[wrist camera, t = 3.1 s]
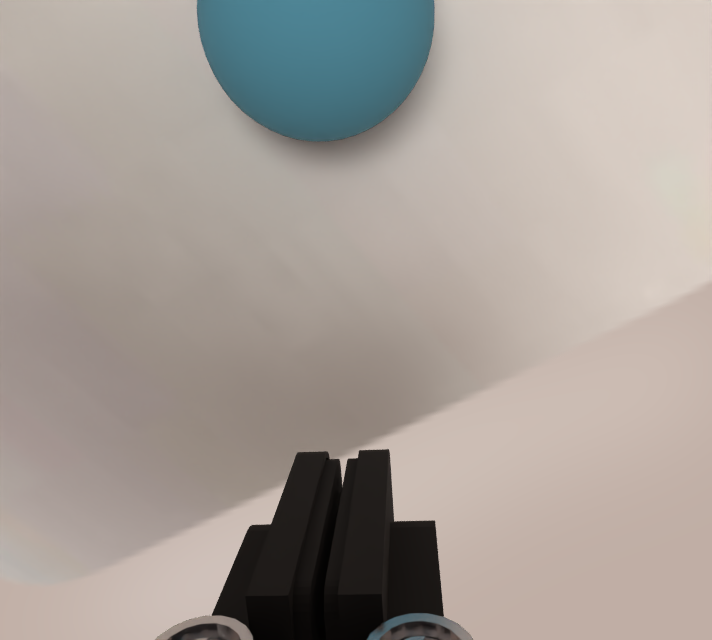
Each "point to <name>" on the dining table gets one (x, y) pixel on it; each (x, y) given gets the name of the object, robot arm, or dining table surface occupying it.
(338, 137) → the ball
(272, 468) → the dining table surface
